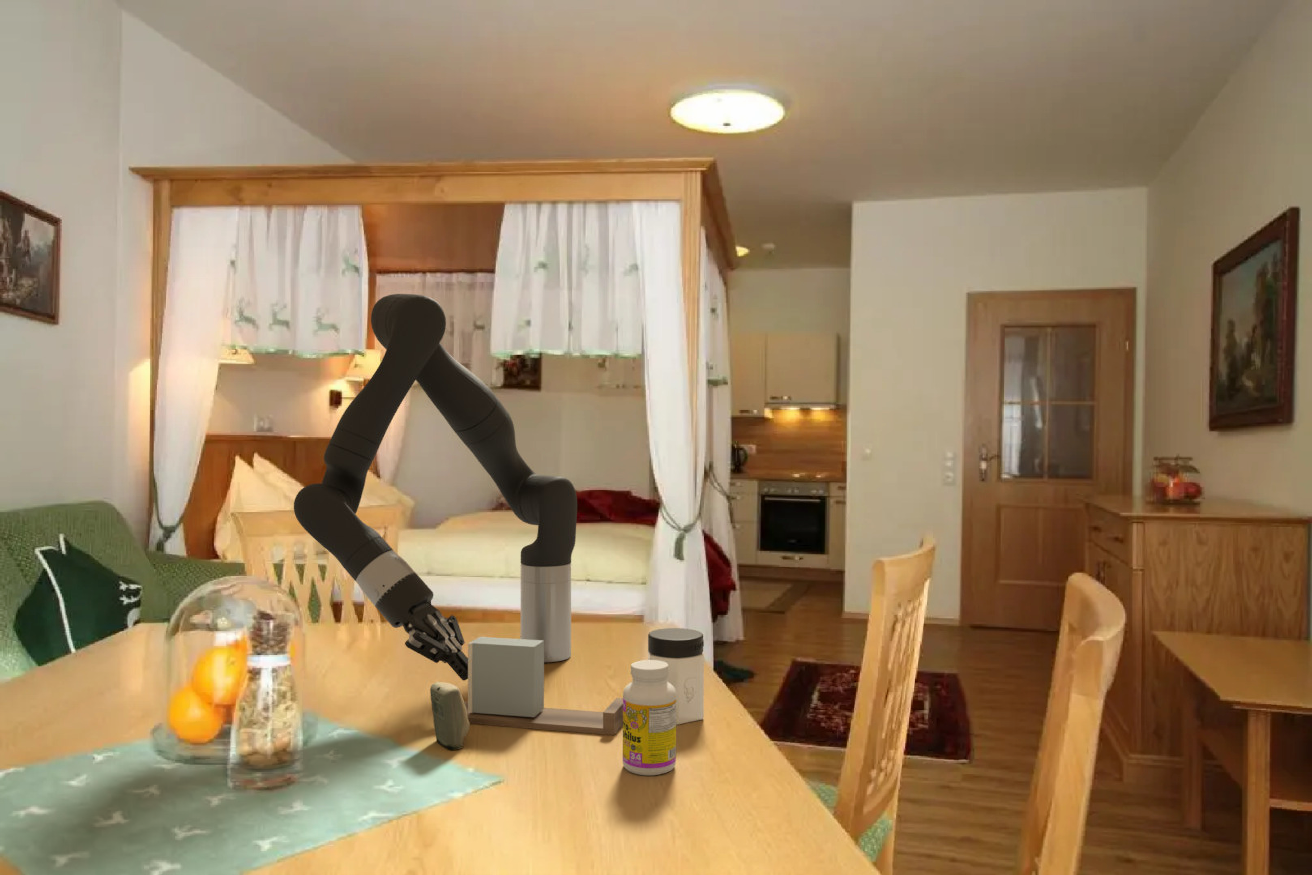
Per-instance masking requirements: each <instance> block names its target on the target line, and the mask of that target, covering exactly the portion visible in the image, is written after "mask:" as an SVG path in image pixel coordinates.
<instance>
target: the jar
mask: <svg viewBox="0 0 1312 875" xmlns="http://www.w3.org/2000/svg"><path fill="white" fill-rule="evenodd" d="M704 645H705V640H704V634H703V633H702V632H701V631H700V630H696V629H690V628H683V627H681V628H680V627H678V628H677V627H668V628H667V627H666V628H660V629H654V630H651V631H650V632H649V633H648V634H647V649H648V650H647V660H658V661H663V662H666V663H667V664H668V668H669V674H668V677H667V682H668V683H670V684H671V685H672V686H673V687H674V688H675V690H676V726H678V725H682V724H683V725H684V724H688V723H692V722H698V721H701V720H704V713H705V712H704V711H705V710H704V706H705V705H704V703H705V702H704V700H705V699H704V695H705V694H704V693H705V692H704V691H705V690H704V685H705V684H704V681H705V679H704V678H705V676H704V675H705V669H704V668H705V664H704V662H705V657H704V653H703V652H704Z"/></svg>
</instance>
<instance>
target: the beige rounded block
mask: <svg viewBox="0 0 1312 875" xmlns="http://www.w3.org/2000/svg"><path fill="white" fill-rule="evenodd" d="M429 690H430V692H429V693H430V701H431V710H432V720H433V727H434V733H435V734H434V735H435V738H436V744H439V745H440V746H442V747H444V748H445V749H446V750H449V751H455V750H456V751H457V750H460V749H463V748H464V744H465V741H464V739H465V737H466V736H467V735H468V732H469V731H470V723H469V721H468V716H467V710H466V706H465V703H464V702H465V701H464V697H463V695H462V692H461V689H460V688H459V687H458V686H457V685H454V684H452V683H449V682H443V681H442V682H441V681H437V682H434V683H432V684H431V685H430V689H429Z"/></svg>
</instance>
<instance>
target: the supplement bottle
mask: <svg viewBox="0 0 1312 875" xmlns="http://www.w3.org/2000/svg"><path fill="white" fill-rule="evenodd" d="M668 674H669V668H668V664H667V663H666V662H663V661H658V660H648V659H642V660H638V661H635V662H632V663H631V665H630V675H631V677H632V681H630V682H629V683H628V684H627V685H626V686H625V688H623V692H622V698H623V725H622V764H623V767H624V769H626V771H628V772H630V773H632V774H635V775H639V776H657V775H662V774H666V773H668V772H670V771H672V770H674V768H675V767H676V764H677V763H676V761H677V760H676V759H677V725H676V690H675V688H674V687H673V686H672V685H671V684H670V683H668V682H667V677H668Z"/></svg>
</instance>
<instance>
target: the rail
mask: <svg viewBox="0 0 1312 875" xmlns="http://www.w3.org/2000/svg"><path fill="white" fill-rule="evenodd" d="M464 703H465V706H466V710H467V716H468V721H469V725H470V724H473V725H484V726H494V727H496V726H497V727H508V728H520V729H522V728H523V729H535V730H545V731H547V730H548V731H557V732H559V731H561V732H569V733H570V732H572V733H583V734H594V735H595V734H598V735H607V736H610V735H612V736H615V735H616V734H617V733H618V731H619V730H620V728H622V727H623V697H622V698H621V697H620V698H619V697H616V698H615V699H614V700H613V701H612V702H611V703H610V704H609V705H608V706H607V707H606V709H605V710H604V711H594V710H582V709H581V710H579V709H578V710H577V709H565V708H553V707H544V709H543V710H542V711H541V712H540V713H539V714H537V715H536V716H535V717H524V716H511V715H498V714H485V713H468V701H464Z"/></svg>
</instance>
